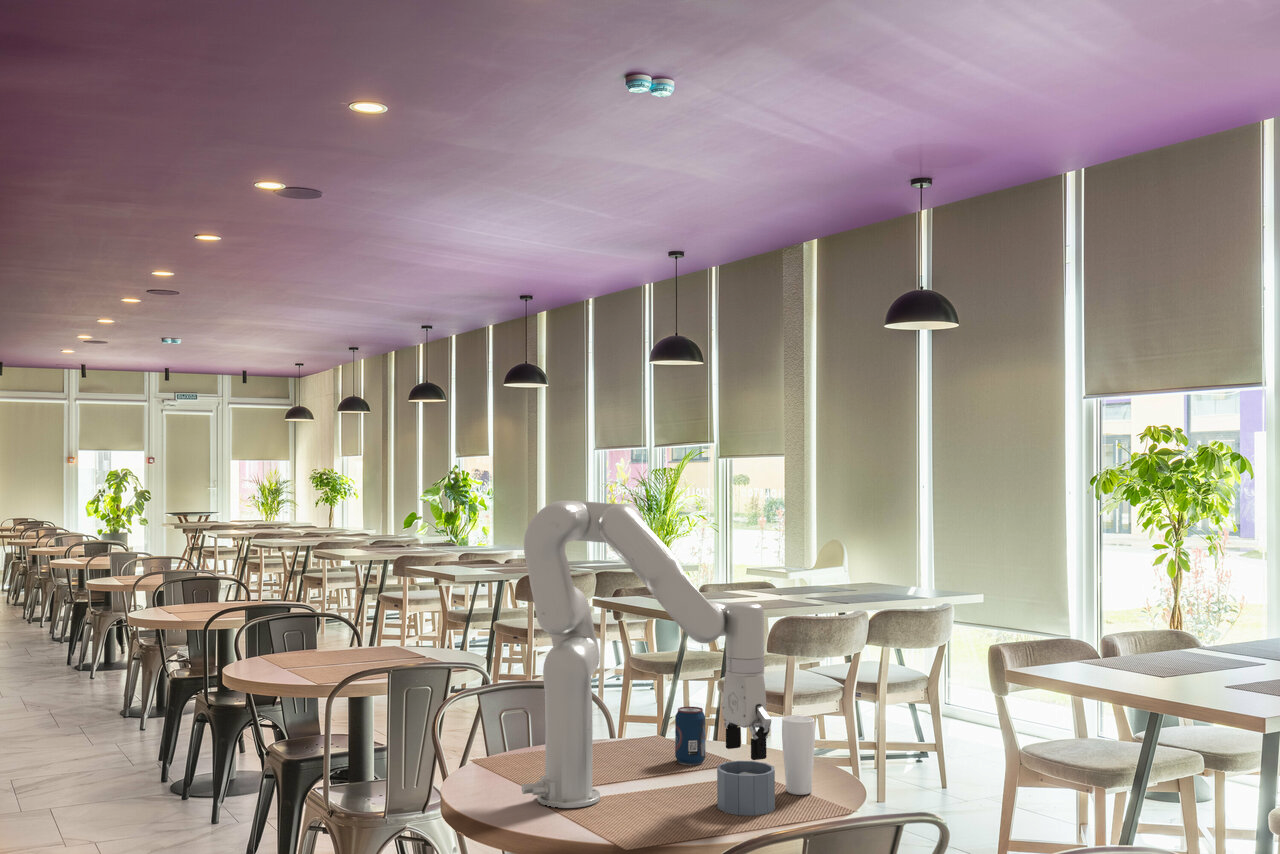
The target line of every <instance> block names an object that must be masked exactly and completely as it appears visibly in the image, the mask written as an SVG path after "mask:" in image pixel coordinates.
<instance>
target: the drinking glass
mask: <svg viewBox="0 0 1280 854" xmlns="http://www.w3.org/2000/svg"><path fill="white" fill-rule="evenodd" d="M781 740H782V752H783V754H782V755H783V763H784V775H785V790H786V792H787V793H789V794H790V795H795V796H806V795H809V794H811V793H812V791H813V772H814V771H813V770H814V759H815V748H816V745H815V743H816V723H815V718H814V717H812V716H807V715H799V714H797V715H796V714H795V715H794V714H793V715H786V716H782V719H781Z"/></svg>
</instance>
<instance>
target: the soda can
mask: <svg viewBox="0 0 1280 854" xmlns="http://www.w3.org/2000/svg"><path fill="white" fill-rule="evenodd" d="M674 720H675V721H674V723H675V724H674V725H675V726H674V729H675V730H674V734H675V736H674V737H675V738H674V739H675V740H674V743H675V744H674V745H675V746H674V748H675V749H674V751H675V755H674V756H675V759H676V760H677V762H678V763H679V764H680V765H684V766H697V765H701V764H703V763H704V761H705V759H706V757H707V755H706V753H707V752H706V751H707V750H706V744H707V743H706V716H705V713H704V709H703V708H702V707H698V706H681V707H678V708H677V712H676V714H675V718H674Z"/></svg>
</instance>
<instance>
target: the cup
mask: <svg viewBox="0 0 1280 854" xmlns="http://www.w3.org/2000/svg"><path fill="white" fill-rule="evenodd" d="M716 768H717V769H716V777H717V779H716V780H717V781H716V782H717V784H716V785H717V786H716V788H717V790H716V791H717V793H716V794H717V796H716V797H717V799H716V801H717V802H716V803H717V806H716V807H717V808H716V809H718V810H720V811H722V812H723V813H726V814H730V815H731V814H732V815H736V816H750V817H751V816H754V817H755V816H760V815H768V814H769V813H772V812H773V811H775V810H776V793H775V792H776V778H775V776H776V773H775V766H773V765H771V764H769V763H767V762H762V761H758V760H732V761H725V762H722V763H720V764H718V765H717V767H716ZM742 772H747V773H753V774H756V775H739V774H740V773H742Z"/></svg>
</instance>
